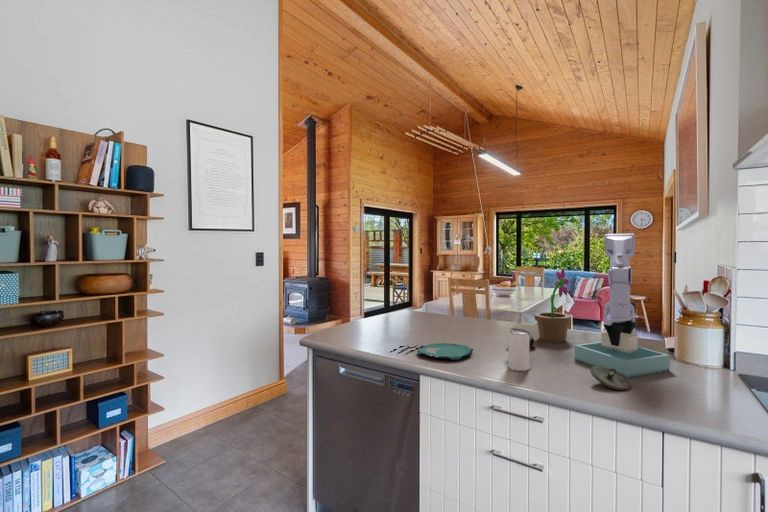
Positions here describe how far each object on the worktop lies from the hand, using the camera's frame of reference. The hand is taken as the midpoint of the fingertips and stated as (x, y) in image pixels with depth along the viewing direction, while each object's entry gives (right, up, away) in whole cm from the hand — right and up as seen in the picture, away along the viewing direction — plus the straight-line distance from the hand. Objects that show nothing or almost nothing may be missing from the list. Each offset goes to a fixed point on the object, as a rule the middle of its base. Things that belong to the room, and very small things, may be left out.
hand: (619, 344), depth 127 cm
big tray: (0, -7, 0) cm, 7 cm away
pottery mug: (-24, -7, +24) cm, 34 cm away
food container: (-30, -7, +7) cm, 31 cm away
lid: (-13, -8, -17) cm, 23 cm away
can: (-34, -8, -2) cm, 35 cm away
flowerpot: (-7, -6, +35) cm, 36 cm away
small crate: (0, -2, 0) cm, 2 cm away
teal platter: (-59, -8, +19) cm, 63 cm away
